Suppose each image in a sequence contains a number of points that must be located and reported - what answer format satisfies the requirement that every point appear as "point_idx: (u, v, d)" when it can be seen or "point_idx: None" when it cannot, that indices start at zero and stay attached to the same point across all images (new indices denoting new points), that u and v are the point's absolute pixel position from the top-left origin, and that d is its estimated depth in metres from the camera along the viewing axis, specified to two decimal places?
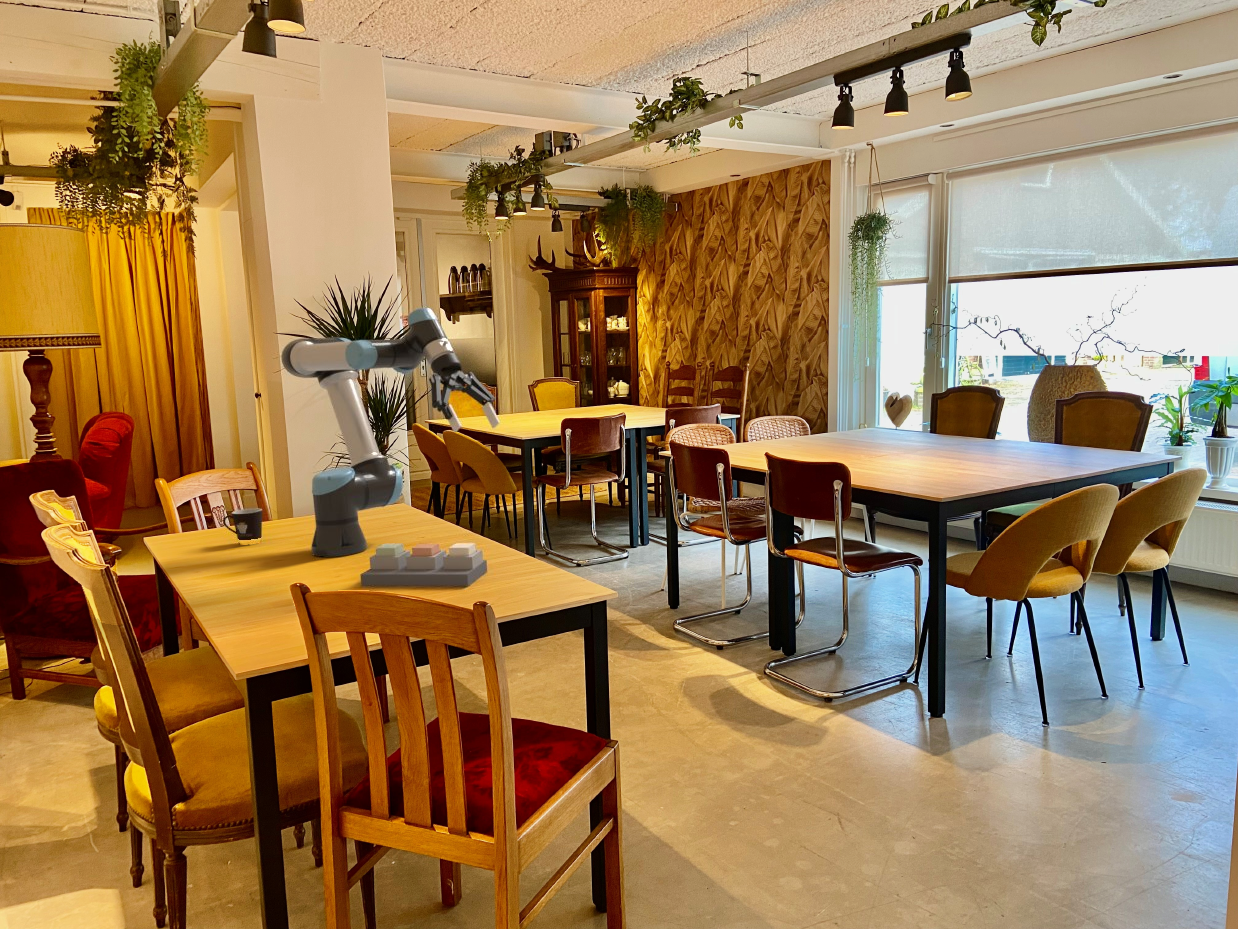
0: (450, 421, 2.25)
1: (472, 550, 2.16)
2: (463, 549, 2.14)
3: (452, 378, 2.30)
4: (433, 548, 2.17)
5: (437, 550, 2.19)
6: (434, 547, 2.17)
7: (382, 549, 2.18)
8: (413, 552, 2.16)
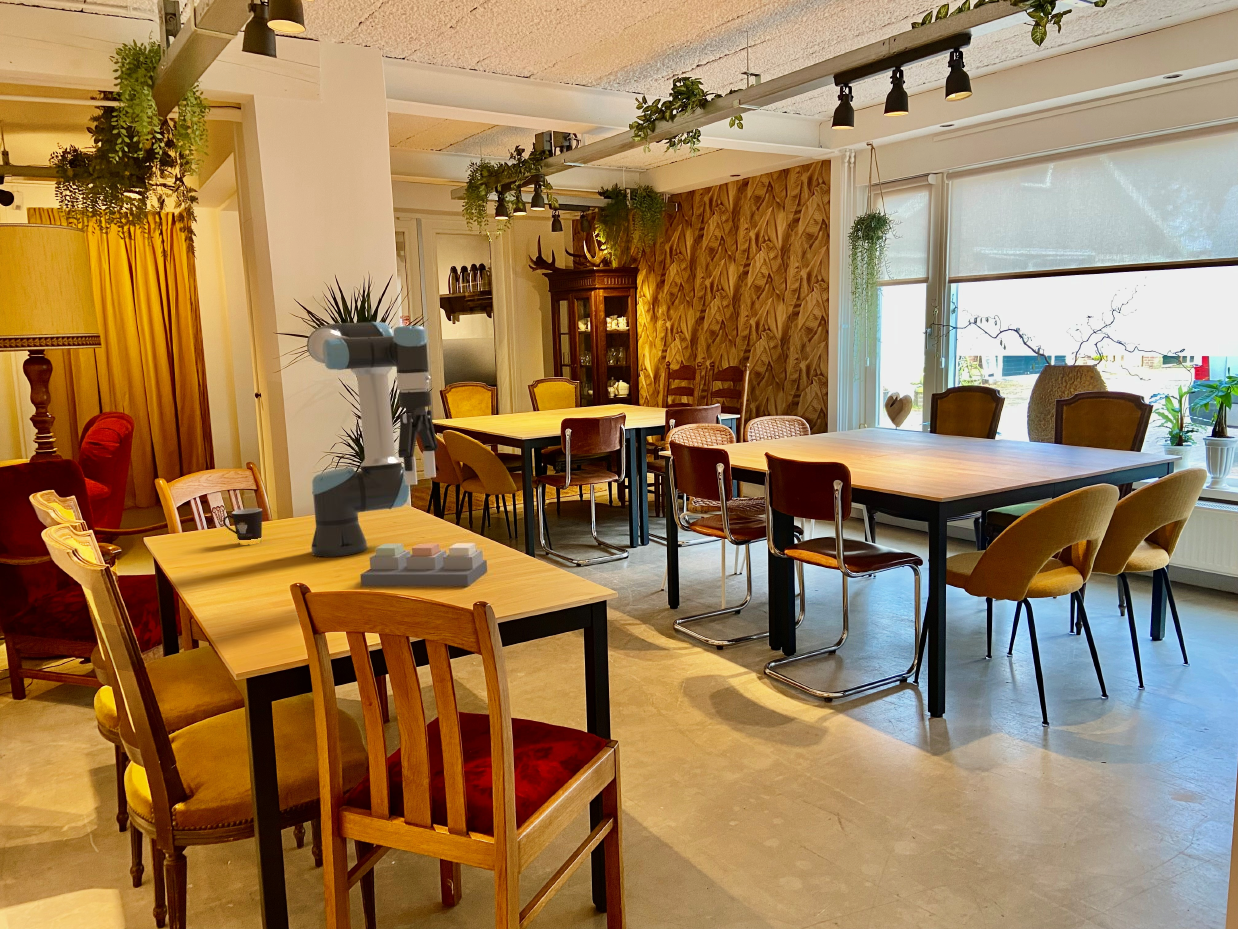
0: (406, 473, 2.10)
1: (472, 550, 2.16)
2: (463, 549, 2.14)
3: (420, 421, 2.12)
4: (433, 548, 2.17)
5: (437, 550, 2.19)
6: (434, 547, 2.17)
7: (382, 549, 2.18)
8: (413, 552, 2.16)
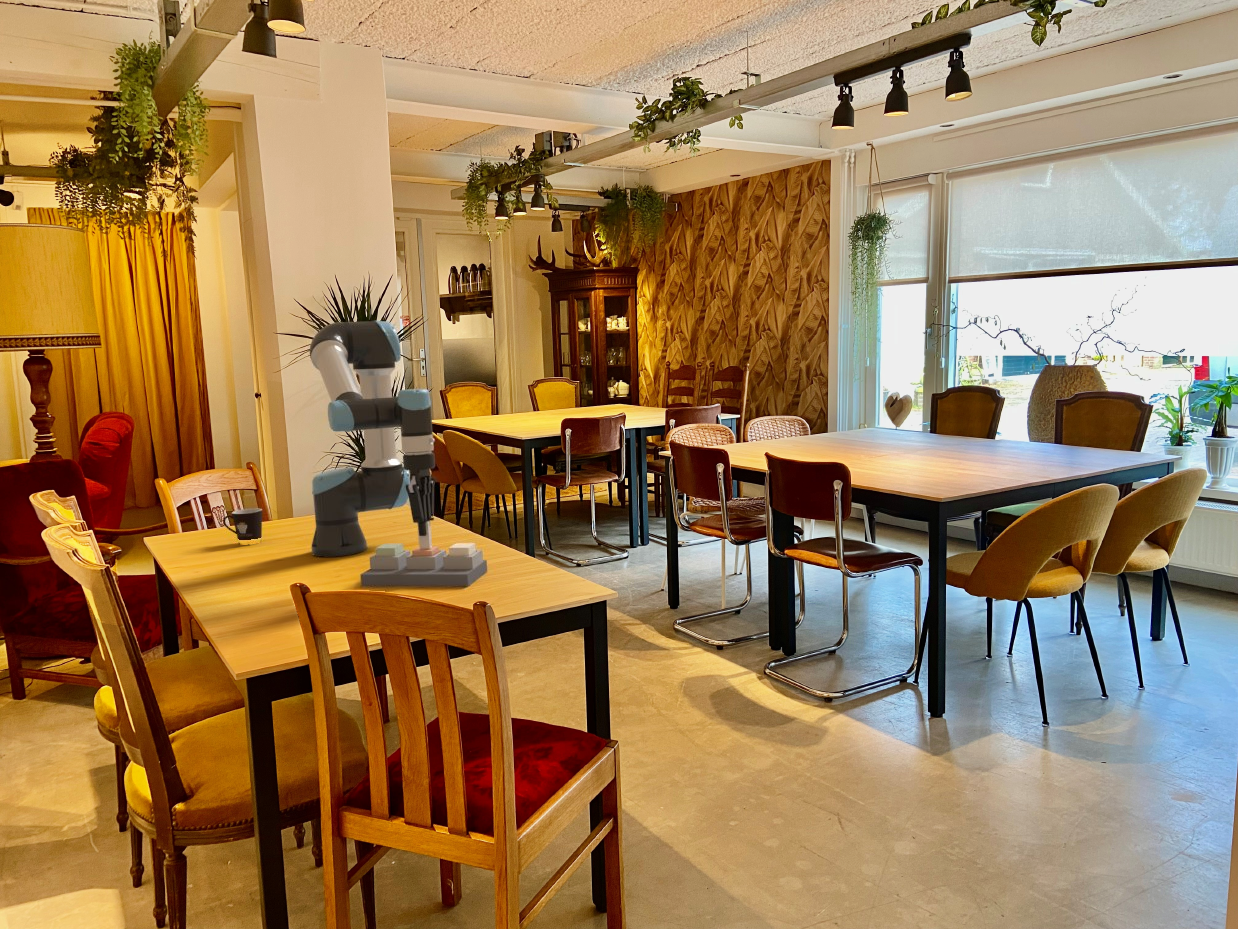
0: (420, 537, 2.17)
1: (472, 550, 2.16)
2: (463, 549, 2.14)
3: (425, 483, 2.14)
4: (433, 551, 2.17)
5: None
6: (434, 550, 2.17)
7: (382, 549, 2.18)
8: (413, 555, 2.16)
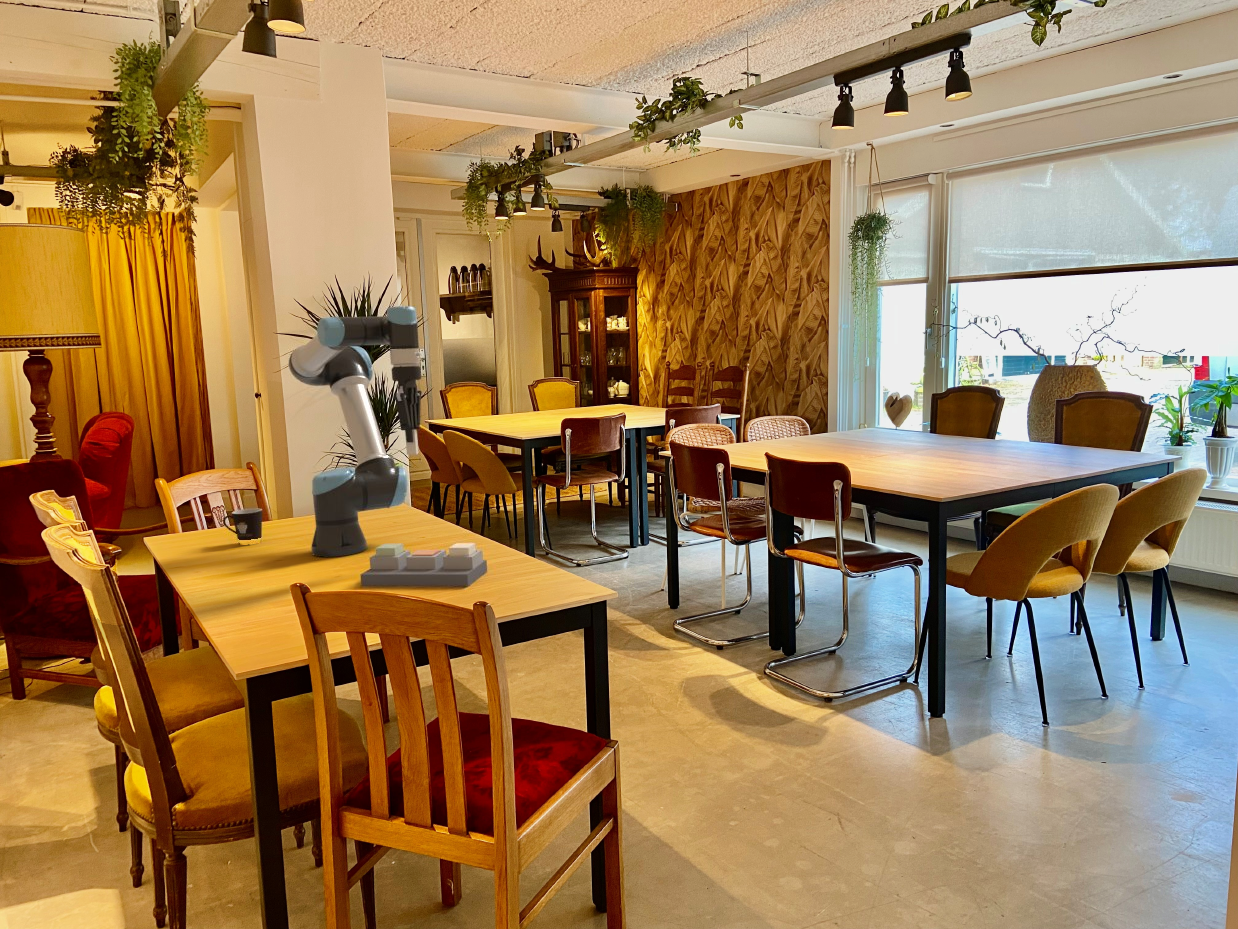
0: (408, 444, 2.36)
1: (472, 550, 2.16)
2: (463, 549, 2.14)
3: (412, 393, 2.34)
4: (433, 555, 2.17)
5: None
6: (434, 554, 2.17)
7: (382, 549, 2.18)
8: None
